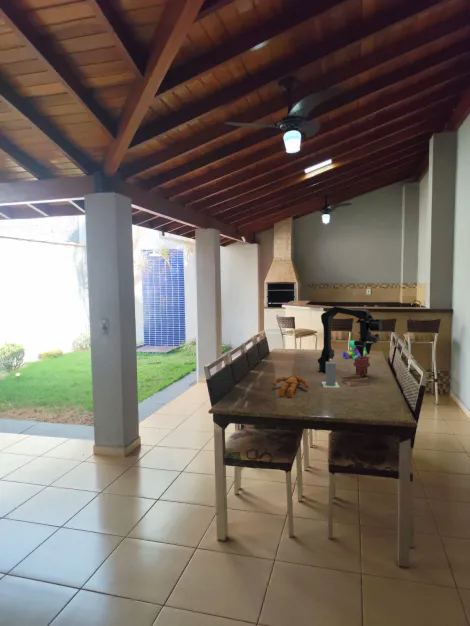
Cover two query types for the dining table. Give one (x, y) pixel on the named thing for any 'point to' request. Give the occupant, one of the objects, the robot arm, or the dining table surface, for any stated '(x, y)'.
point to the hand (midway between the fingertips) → (365, 355)
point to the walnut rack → (355, 380)
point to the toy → (289, 385)
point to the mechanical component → (361, 365)
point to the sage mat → (330, 386)
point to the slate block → (330, 373)
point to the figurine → (353, 351)
